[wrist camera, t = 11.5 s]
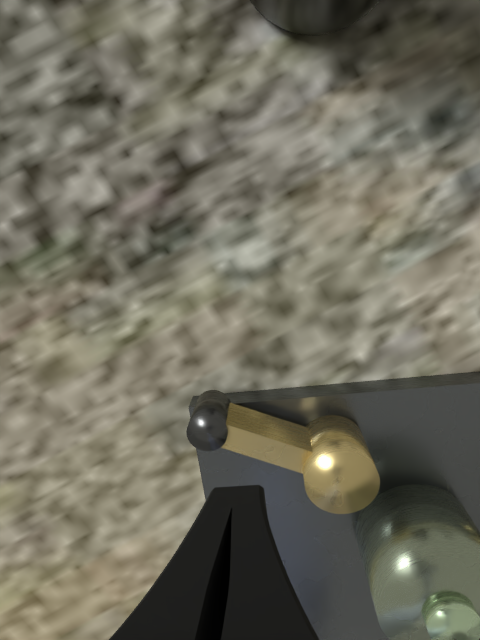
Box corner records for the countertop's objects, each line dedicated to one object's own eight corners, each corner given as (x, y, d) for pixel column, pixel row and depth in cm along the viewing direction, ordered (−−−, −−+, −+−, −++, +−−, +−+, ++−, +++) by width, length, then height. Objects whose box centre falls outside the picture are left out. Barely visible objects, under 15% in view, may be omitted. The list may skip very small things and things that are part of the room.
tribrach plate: (593, 618, 24) (707, 763, 18) (234, 628, 26) (223, 759, 20) (635, 358, 19) (810, 430, 13) (193, 396, 21) (162, 474, 15)
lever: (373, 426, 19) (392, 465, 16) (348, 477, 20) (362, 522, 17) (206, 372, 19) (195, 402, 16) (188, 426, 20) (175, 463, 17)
